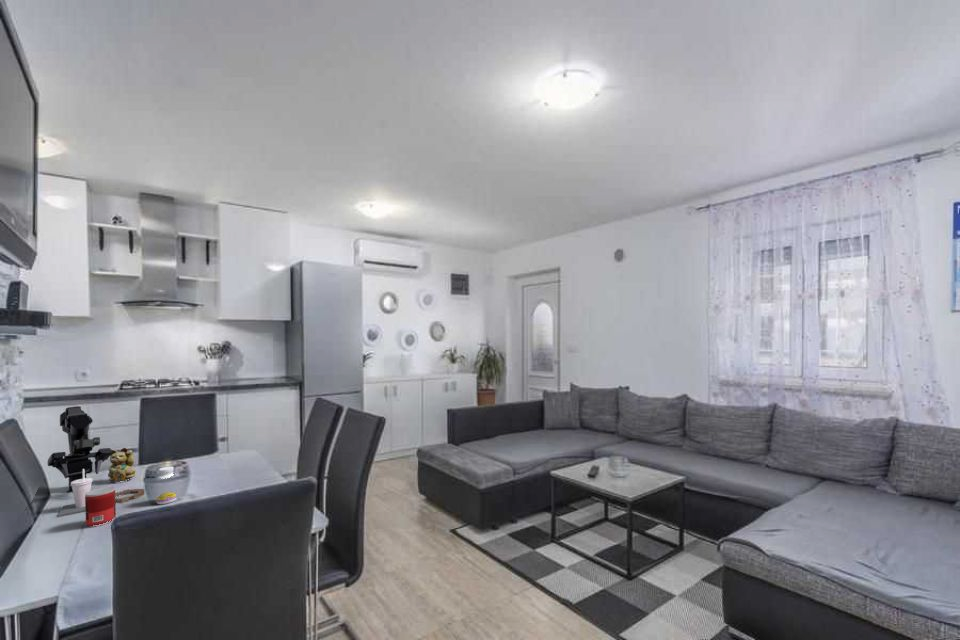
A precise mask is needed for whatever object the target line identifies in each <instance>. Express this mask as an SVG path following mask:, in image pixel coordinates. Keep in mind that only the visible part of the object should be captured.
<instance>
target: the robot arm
mask: <svg viewBox="0 0 960 640" xmlns="http://www.w3.org/2000/svg"><path fill="white" fill-rule="evenodd" d="M59 415H60V416H59V426H60V427H61V430H62V432H64V433H65V434H67V440H68V450H69V454H67V453H66V452H65V451H60V452H59V451H58V452H57V451H56V452H52V453H51V455H50V456H49V457H48V459H47V466H48V467H52V468H56V469H57V470H58V471H59V472H60V473H61V474H62V475H63V477H64V479H68V489H67V490H66V493H71V492H72V493H73V490H72V486H71V482H73V481H75V480H79V479H83V472H82V469H84V474H85V478H87V474H91V473H93V465H94V470H95V471H94V472H95V475H98V474H99V471H100V469H101V466H102V463H104V462H105V461H106V460H108V459H110V457H111V456H110V455H111V454H112V450H113V449H111V448H110V447H106V448H104V447H103V448H99V449H98V450H97V451H96V452H92V450H93V448H95V446H96V447H97V446H99V445H100V444H101V438H100V436H97V437H93V438H91V439H89V430H90V425H91V424H92V423H93V421H94V420H93V419H92V417H91V415H88V413H86V412H85V411H84V410H82V408H81V406H79V405H76V406H70V407H67V408H65V410H64V412H61V413H60V414H59ZM91 458H94V459H95V461H94V462H93V461H92V460H91Z"/></svg>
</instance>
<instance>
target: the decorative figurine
mask: <svg viewBox="0 0 960 640" xmlns="http://www.w3.org/2000/svg"><path fill="white" fill-rule="evenodd" d="M111 450H112V454H111V455H110V456H109V462H110V463H111V465H109V468H108V473H107V476H108V478H109V481H110V482H119V481H126V480H128V479H130V478H132V479H133V478H134V477H135V476H136V475H135V473H136V469H135V468H134V467H133V465H134V463H135V458H134V454H133V450H131V449H130V450H128V448H127V447H123V448H121V450H120V451H117V450H116V449H111ZM130 480H131V479H130ZM128 481H129V480H128Z"/></svg>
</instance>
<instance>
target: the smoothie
mask: <svg viewBox="0 0 960 640" xmlns="http://www.w3.org/2000/svg"><path fill="white" fill-rule="evenodd" d="M82 472H83V479H79V480H75V481H73V482H71V486H72V490H73V491H72V495H73V499H74V503H75V505H76V508H80V507H85V494H86V493H87V492H89V491H92V482H93V481H94V479H93V477H86V478H85V474H84V469H82Z"/></svg>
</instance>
